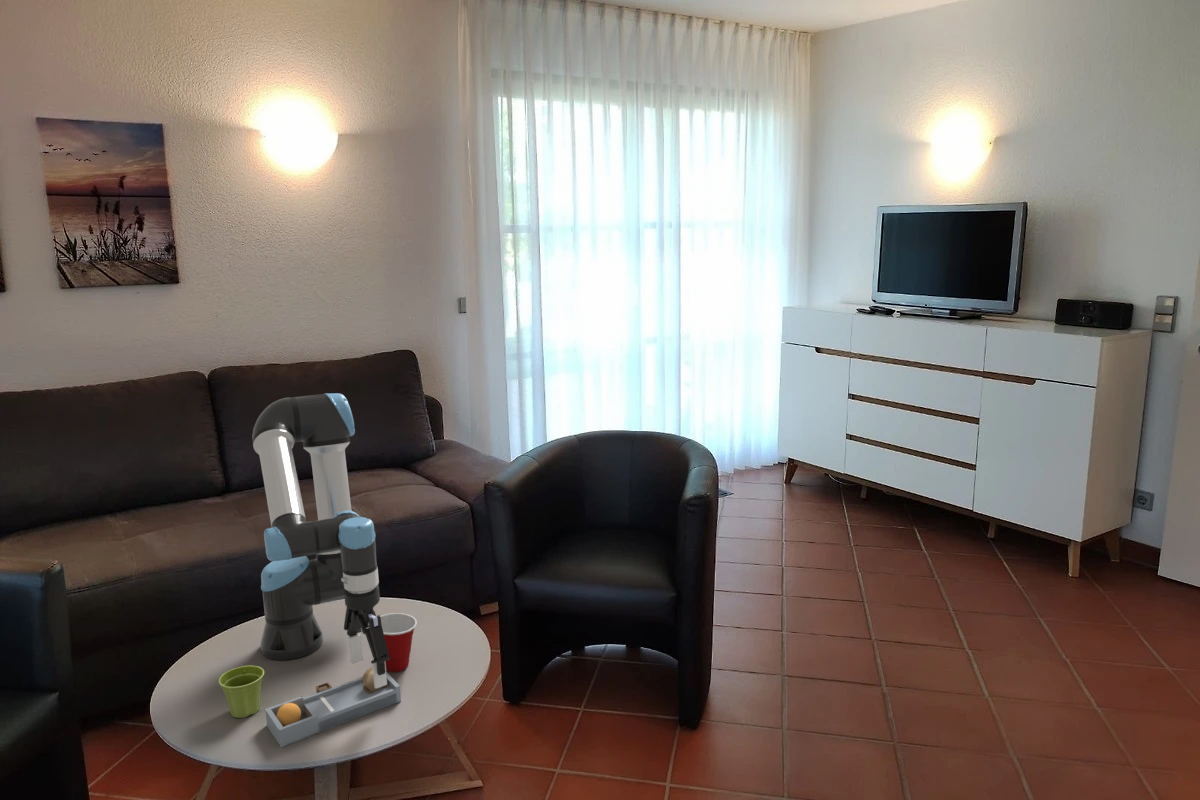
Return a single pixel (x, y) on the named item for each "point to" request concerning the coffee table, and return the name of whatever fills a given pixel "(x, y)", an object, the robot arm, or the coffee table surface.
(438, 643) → the coffee table surface
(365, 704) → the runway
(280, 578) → the robot arm
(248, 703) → the plant pot
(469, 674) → the coffee table surface
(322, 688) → the small wooden crate
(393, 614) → the plastic cup
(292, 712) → the ball
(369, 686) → the block
